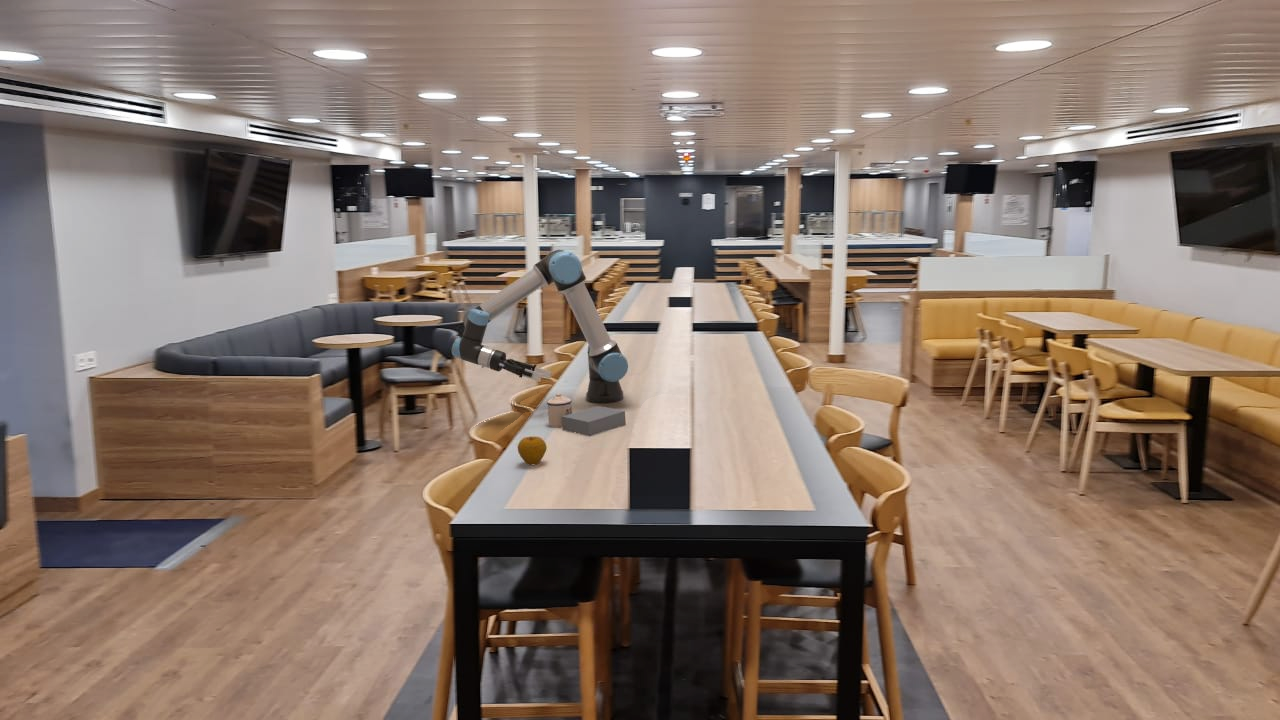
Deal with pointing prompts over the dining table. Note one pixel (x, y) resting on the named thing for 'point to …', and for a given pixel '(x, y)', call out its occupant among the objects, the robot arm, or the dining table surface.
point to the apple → (532, 449)
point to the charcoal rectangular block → (593, 420)
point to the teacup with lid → (558, 409)
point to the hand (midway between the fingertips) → (546, 376)
